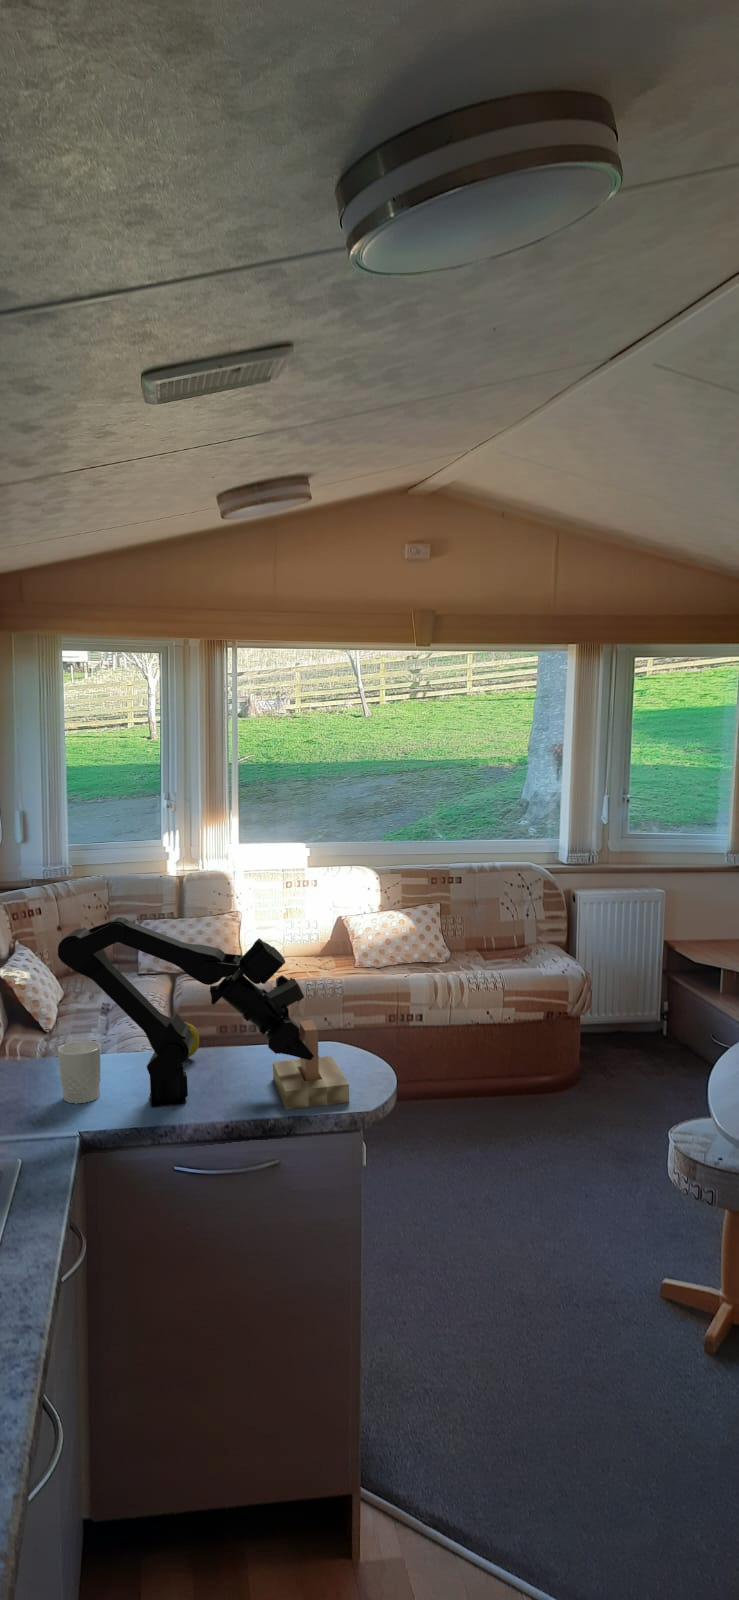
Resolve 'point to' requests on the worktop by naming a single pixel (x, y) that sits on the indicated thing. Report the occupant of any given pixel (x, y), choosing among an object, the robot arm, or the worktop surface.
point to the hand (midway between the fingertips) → (307, 1050)
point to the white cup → (80, 1071)
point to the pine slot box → (310, 1084)
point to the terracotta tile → (311, 1041)
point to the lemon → (195, 1039)
